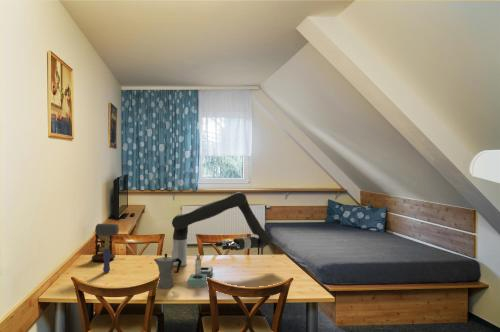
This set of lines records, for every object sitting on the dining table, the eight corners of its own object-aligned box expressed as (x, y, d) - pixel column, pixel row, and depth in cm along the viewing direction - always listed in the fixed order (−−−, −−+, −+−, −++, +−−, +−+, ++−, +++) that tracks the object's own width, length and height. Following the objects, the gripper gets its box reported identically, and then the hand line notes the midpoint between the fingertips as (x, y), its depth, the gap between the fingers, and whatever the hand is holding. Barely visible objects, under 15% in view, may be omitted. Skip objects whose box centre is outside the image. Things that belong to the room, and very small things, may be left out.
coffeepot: (151, 288, 195) (151, 255, 195) (155, 282, 205) (156, 251, 204) (179, 289, 195) (180, 256, 195) (182, 283, 205) (183, 251, 204)
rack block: (187, 286, 200) (187, 279, 200) (191, 280, 209) (191, 274, 209) (204, 287, 199) (204, 280, 199) (207, 281, 209) (207, 274, 208)
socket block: (195, 277, 215) (195, 270, 215) (198, 272, 224) (198, 266, 224) (210, 278, 214) (210, 271, 214) (212, 273, 223) (212, 266, 223)
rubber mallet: (118, 270, 225) (119, 222, 224) (115, 274, 218) (115, 224, 217) (98, 270, 224) (99, 222, 224) (93, 274, 217) (94, 224, 216)
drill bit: (194, 284, 203) (195, 254, 202) (195, 282, 206) (196, 253, 206) (200, 284, 203) (200, 254, 202) (201, 283, 206) (201, 253, 205)
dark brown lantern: (117, 256, 255) (118, 228, 254) (111, 262, 240) (111, 233, 239) (96, 256, 254) (96, 228, 253) (88, 262, 239) (88, 232, 239)
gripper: (236, 235, 231) (213, 237, 222) (248, 240, 219) (225, 242, 211) (235, 246, 232) (213, 249, 223) (248, 252, 220) (224, 255, 211)
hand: (219, 246), depth 217 cm, fingers open, 8 cm apart
